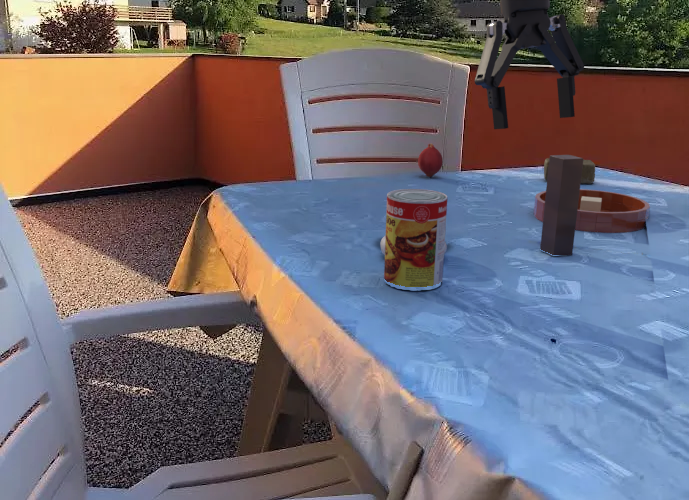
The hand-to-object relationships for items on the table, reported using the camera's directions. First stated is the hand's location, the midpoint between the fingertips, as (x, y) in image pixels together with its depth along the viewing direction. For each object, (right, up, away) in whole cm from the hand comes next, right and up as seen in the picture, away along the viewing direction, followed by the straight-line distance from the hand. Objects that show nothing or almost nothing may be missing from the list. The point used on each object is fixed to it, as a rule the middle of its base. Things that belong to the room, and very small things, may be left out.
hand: (534, 123), depth 115 cm
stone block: (+21, -5, +50) cm, 55 cm away
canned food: (-22, -25, -19) cm, 39 cm away
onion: (-11, -4, +52) cm, 54 cm away
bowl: (+14, -15, +14) cm, 25 cm away
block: (+14, -15, +14) cm, 25 cm away
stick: (+2, -21, -5) cm, 22 cm away
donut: (-21, -22, -9) cm, 31 cm away
